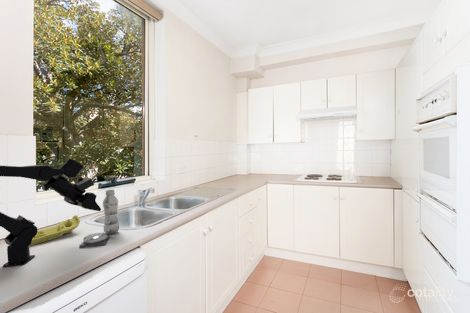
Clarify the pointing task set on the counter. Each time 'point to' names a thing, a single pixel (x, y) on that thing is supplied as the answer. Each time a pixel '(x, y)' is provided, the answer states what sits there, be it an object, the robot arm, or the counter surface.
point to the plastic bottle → (110, 213)
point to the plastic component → (56, 230)
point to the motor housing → (95, 240)
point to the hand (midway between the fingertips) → (95, 208)
